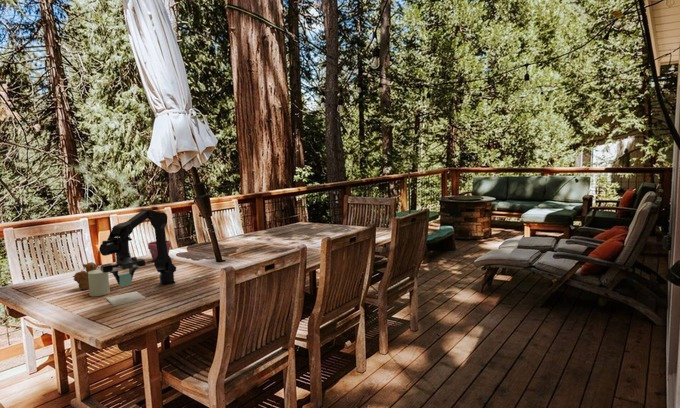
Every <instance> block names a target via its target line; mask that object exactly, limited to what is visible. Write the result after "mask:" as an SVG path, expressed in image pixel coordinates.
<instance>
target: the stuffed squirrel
mask: <svg viewBox="0 0 680 408" xmlns="http://www.w3.org/2000/svg"><path fill="white" fill-rule="evenodd" d="M82 266H83V268H85V270H81V271H77V272H75V273H74V275H73V276H72V277H73V281H74V282H76V283H77V284H78V287H79V289H81V290H89V280H88V272H89V271H93V270H98V269H100V267H99V266H98V265H97V264H96V263H95V262H93V261H92V262H87V263H83V264H82Z"/></svg>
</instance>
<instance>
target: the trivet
mask: <svg viewBox="0 0 680 408" xmlns="http://www.w3.org/2000/svg"><path fill="white" fill-rule="evenodd" d="M105 299H106V300H107V301H108V302H109V303H110V304H111V305H112V306H113V307H116V306H120V305H124V304H130V303H134V302H138V301H142V300H146V297H145V296H144V295H143V294H141V293H140V292H139V291H137V290H136V291H132V292H126V293H122V294H116V295H111V296H106V298H105Z"/></svg>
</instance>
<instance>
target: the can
mask: <svg viewBox="0 0 680 408" xmlns="http://www.w3.org/2000/svg"><path fill="white" fill-rule="evenodd" d="M88 280H89V289H88V290H89V291H88V292H89V293H88V294H89V296H91V297H100V296H101V297H102V296H105V295H107V294H110V292H111V291H110V279H109V272H106V273H103V272H102V271H101V268H99V269H98V268H97V269H96V270H93V271H89V272H88Z"/></svg>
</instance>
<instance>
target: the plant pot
mask: <svg viewBox="0 0 680 408" xmlns="http://www.w3.org/2000/svg"><path fill="white" fill-rule="evenodd" d="M166 245H167V253H168V255H169V256H170V254H169V253H170V248H171V247H172V245H171V241H170V240H166ZM147 247H148V248H147V249H148V250H149V252H150V255H151V256H150V257H151V258H152V261H153V262H154V259H156V257H157V255H158V254H157V245H156V240H155V241H150V242H148V243H147Z"/></svg>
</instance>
